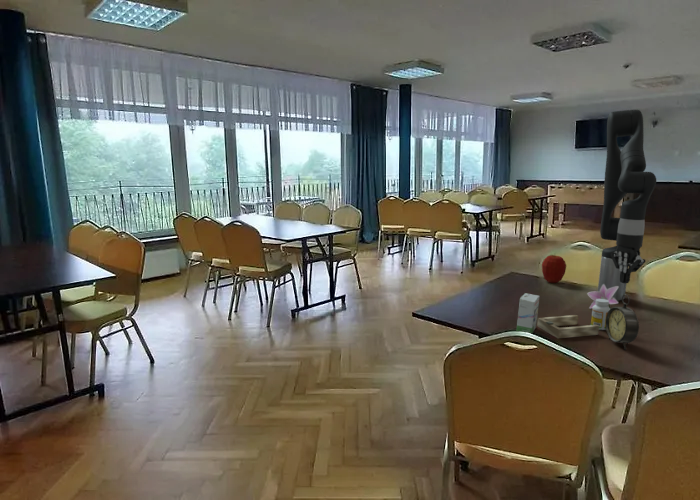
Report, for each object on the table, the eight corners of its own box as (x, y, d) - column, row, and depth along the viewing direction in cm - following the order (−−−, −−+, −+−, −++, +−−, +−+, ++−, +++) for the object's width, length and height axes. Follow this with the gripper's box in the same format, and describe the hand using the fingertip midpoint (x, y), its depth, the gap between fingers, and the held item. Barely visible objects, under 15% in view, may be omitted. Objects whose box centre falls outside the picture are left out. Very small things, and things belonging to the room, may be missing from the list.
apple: (544, 285, 211) (546, 255, 208) (537, 279, 220) (540, 250, 218) (567, 285, 210) (570, 255, 207) (560, 279, 219) (563, 251, 217)
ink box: (521, 325, 161) (523, 292, 159) (537, 328, 158) (539, 294, 156) (515, 333, 154) (518, 298, 151) (531, 336, 151) (534, 301, 149)
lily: (585, 305, 185) (580, 287, 181) (615, 296, 182) (611, 277, 178) (597, 324, 175) (592, 305, 171) (630, 315, 172) (626, 295, 168)
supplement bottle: (604, 324, 161) (607, 298, 159) (611, 330, 156) (614, 303, 154) (587, 324, 162) (590, 297, 160) (594, 330, 156) (597, 302, 154)
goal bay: (575, 323, 163) (576, 313, 162) (598, 334, 152) (599, 324, 152) (536, 326, 160) (537, 317, 159) (557, 338, 149) (558, 328, 148)
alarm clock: (602, 337, 150) (608, 289, 147) (619, 337, 150) (625, 289, 147) (621, 351, 139) (628, 300, 136) (639, 351, 139) (646, 300, 136)
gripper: (656, 235, 149) (649, 287, 152) (624, 229, 161) (618, 277, 165) (637, 236, 147) (630, 288, 150) (605, 229, 160) (600, 278, 163)
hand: (624, 282), depth 157 cm, fingers closed
